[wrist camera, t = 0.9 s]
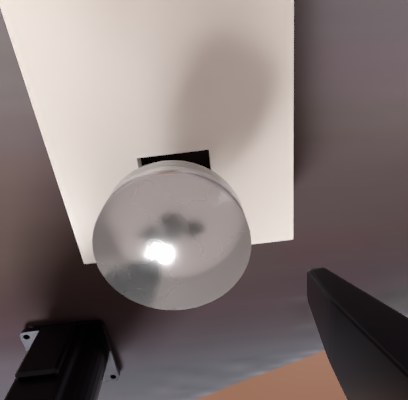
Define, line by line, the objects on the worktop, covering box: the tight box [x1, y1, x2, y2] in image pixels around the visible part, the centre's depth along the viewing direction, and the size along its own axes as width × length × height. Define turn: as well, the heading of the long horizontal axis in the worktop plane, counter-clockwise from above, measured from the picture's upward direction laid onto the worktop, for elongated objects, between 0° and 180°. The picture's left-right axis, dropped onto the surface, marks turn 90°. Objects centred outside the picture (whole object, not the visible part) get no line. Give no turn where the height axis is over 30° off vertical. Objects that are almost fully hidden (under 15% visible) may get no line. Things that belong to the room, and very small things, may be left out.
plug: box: [92, 160, 251, 310], centre depth 14 cm, size 6×6×5 cm
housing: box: [0, 0, 294, 264], centre depth 16 cm, size 21×12×4 cm, turn 6°
